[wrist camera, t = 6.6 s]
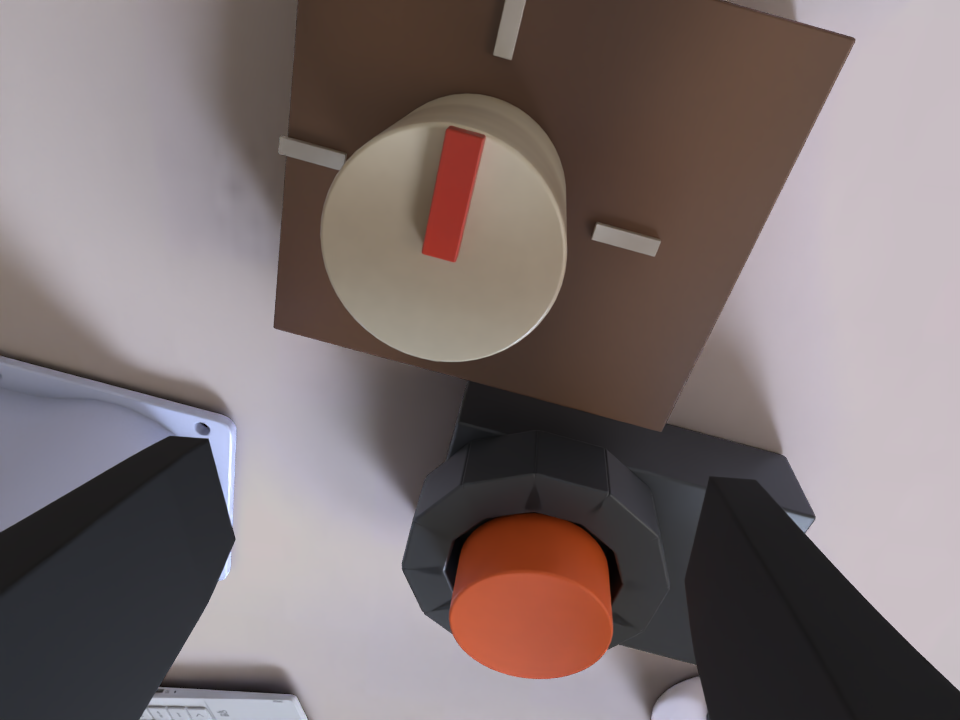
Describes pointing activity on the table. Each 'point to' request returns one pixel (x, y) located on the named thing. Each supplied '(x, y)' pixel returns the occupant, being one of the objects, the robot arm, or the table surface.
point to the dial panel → (572, 166)
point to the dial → (449, 229)
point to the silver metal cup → (682, 702)
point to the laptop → (221, 705)
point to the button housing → (585, 502)
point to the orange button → (532, 597)
